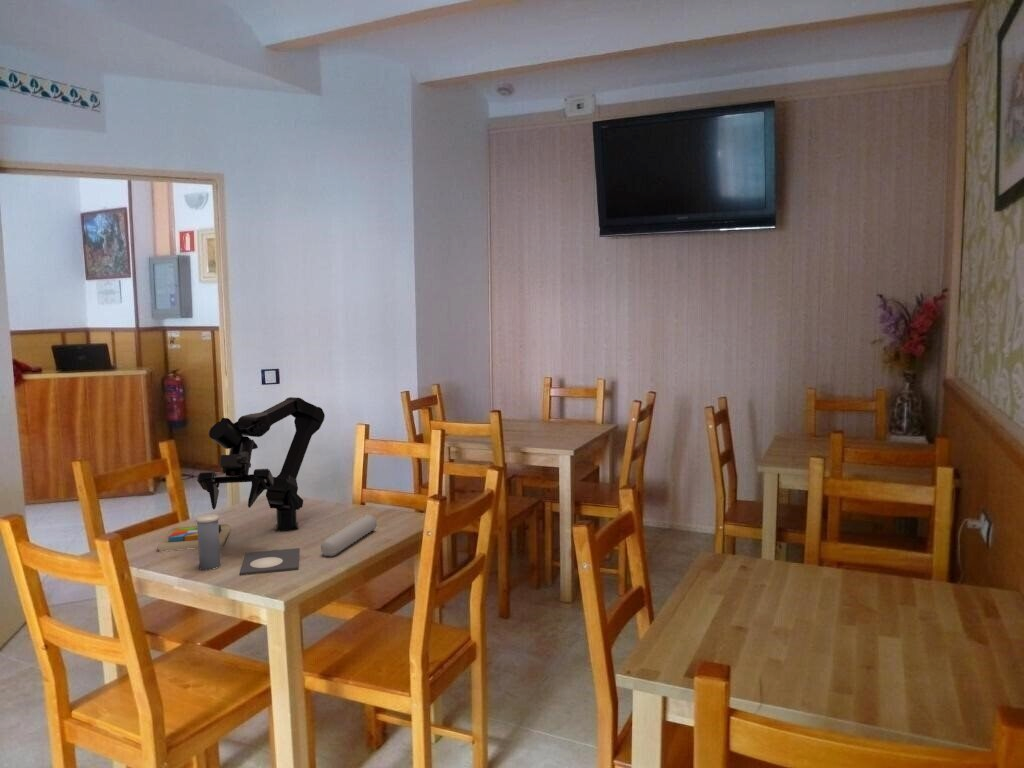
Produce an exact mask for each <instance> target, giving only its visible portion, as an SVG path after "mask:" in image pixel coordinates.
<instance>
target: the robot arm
mask: <svg viewBox="0 0 1024 768" xmlns="http://www.w3.org/2000/svg"><path fill="white" fill-rule="evenodd" d="M289 416H291V417H293V418H294V421H293V422H294V428H295V433H294V436H293V438H292V441H291V444H290V446H289V448H288V452H287V453H286V457H285V459H284V462H283V464H282V467H281V470H280V473H279V474H278V475H277V476H273V474H272V472H271V470H270V469H269V468H255V469H254V470H253V474H249V471H250V468H251V467H252V464H251V460H252V459H251V458H252V452H253V450H257V449H258V444H257V443H256V442H255V440H254V439H252V438H253V437H255V438H260V437H263V436H264V435H265V434H266V433H268V432H269V431H270V429H271V426H273V425H274V424H276V423H278V422H280V421H282V420H283V419H285V418H287V417H289ZM325 417H326V416H325V412H324V410H323V409H322V408H321V407H320V406H317V405H314V404H312V403H311V402H308V401H305V399H303V398H301V397H293V396H291V397H286V399H284V400H283V401H281V402H278V403H277V404H275V405H273V406H271V407H269V408H267V409H265V410H262V411H260V412H256V413H249V414H245V415H241V416H240V417H239V418H238V419H237V421H235V422H232V420H231V419H229V418H228V417H221V419H220V421H218V422H216V423H214V424H213V426H212V427H210V429H209V432H208V436H209V438H210V439H211V440H213V441H214V442H216V444H218V445H219V446H220V447H222V448H223V449H225V450H229V452H228V453H229V454H221V455H220V456H219V468H222V473H223V474H225V475H217V474H216V472H215V470H213V471H200V473H199V474H198V475H197V479H196V480H197V481H196V482H198V484H199V485H200V487H201V488H202V490H203V491H206V492H207V493H208V494H209V498H210V503H211V509H212V510H216V507H217V504H218V497H219V494H220V493H219V492H220V490H219V487H220V484H228V483H229V484H231V483H251V488H250V492H249V496H248V500H247V501H248V502H247V507H248V508H250V509H251V507H252V506H253V505H254V504H255V501H256V500H257V499H258V497H259V496H260V495H261V494H262V493H263V492H264V491H266V492H265V497H266V501H267V503H268V506H269V508H270V509H276V511H275V512H276V524H275V528H274V529H275V530H274V531H275V532H283V531H294V530H299V522H298V521H297V520H298V519H297V511H298V510H300V509H301V508H303V506H304V499H303V498H302V497H300V495H299V494H298V490H299V487H298V482H297V477H298V475H299V472H300V470H301V469H300V468H301V467H302V463H303V461H304V457H305V455H306V452H307V450H308V447H309V444H310V442H311V439H312V437H313V435H314V434H316V432H317V431H319V430H320V429H321V426H322V425H323V422H324V421H325ZM250 437H251V438H250Z"/></svg>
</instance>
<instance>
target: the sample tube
mask: <svg viewBox="0 0 1024 768" xmlns="http://www.w3.org/2000/svg"><path fill="white" fill-rule="evenodd" d="M219 519H220V516H219V515H218V514H213V513H211V514H209V513H208V514H201V515H198V516H196V517H195V522H196V526H197V530H198V549H197V550H198V562H199V566H198V568H199V569H200V568H201V569H200V570H202V569H211V570H214V569H213V568H216V567H218V568H220V567H221V551H220V548H221V547H220V545H219V526H218V524H219ZM219 566H220V567H219ZM216 569H217V568H216Z"/></svg>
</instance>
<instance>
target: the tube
mask: <svg viewBox="0 0 1024 768" xmlns="http://www.w3.org/2000/svg"><path fill="white" fill-rule="evenodd" d="M377 522H378V521H377V518H375V517H374V516H373V515H372V514H364V515H363V516H362V517H360V518H359V519H357V520H355V521H353V522H352V523H350V524H348V525H347V526H345V527H343V528H342V529H340V530H339V531H336V532H335V533H333V534H332V535H329V536H328V537H326V538H325V539H324V540H323V541H322V543H321V545H320V550H321V553H322V554H323V556H324V557H334V556H337V555H338V554H340V553H341V552H343V551H345V550H346V549H347V548H348V546H349V547H350V546H352V545H353V544H355V543H356V542H358V541H359V539H360V538H361V539H363V538H364V537H366V536H367V535H369V534H371V533H372V532H371V531H373V532H374V531H375V529H376V528H377V527H378V526H377ZM368 533H369V534H368ZM366 534H367V535H366ZM365 535H366V536H365ZM363 536H364V537H363ZM362 537H363V538H362ZM361 539H360V540H361ZM357 540H358V541H357ZM354 542H355V543H354ZM351 544H352V545H351ZM345 548H346V549H345ZM342 550H343V551H342Z"/></svg>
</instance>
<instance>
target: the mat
mask: <svg viewBox="0 0 1024 768" xmlns="http://www.w3.org/2000/svg"><path fill="white" fill-rule="evenodd" d="M299 562H300V547H295V548H288V549H287V548H285V549H283V548H282V549H275V550H261V551H251V552H245V553H244V557H243V560H242V562H241V567H240V571H239V576H244V575H245V576H247V575H246V574H248V575H257V574H256V573H258V574H266V573H276V572H277V573H279V572H286V571H287V572H288V571H296V570H297V571H298V570H299V567H300V566H299V565H300V563H299Z"/></svg>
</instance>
